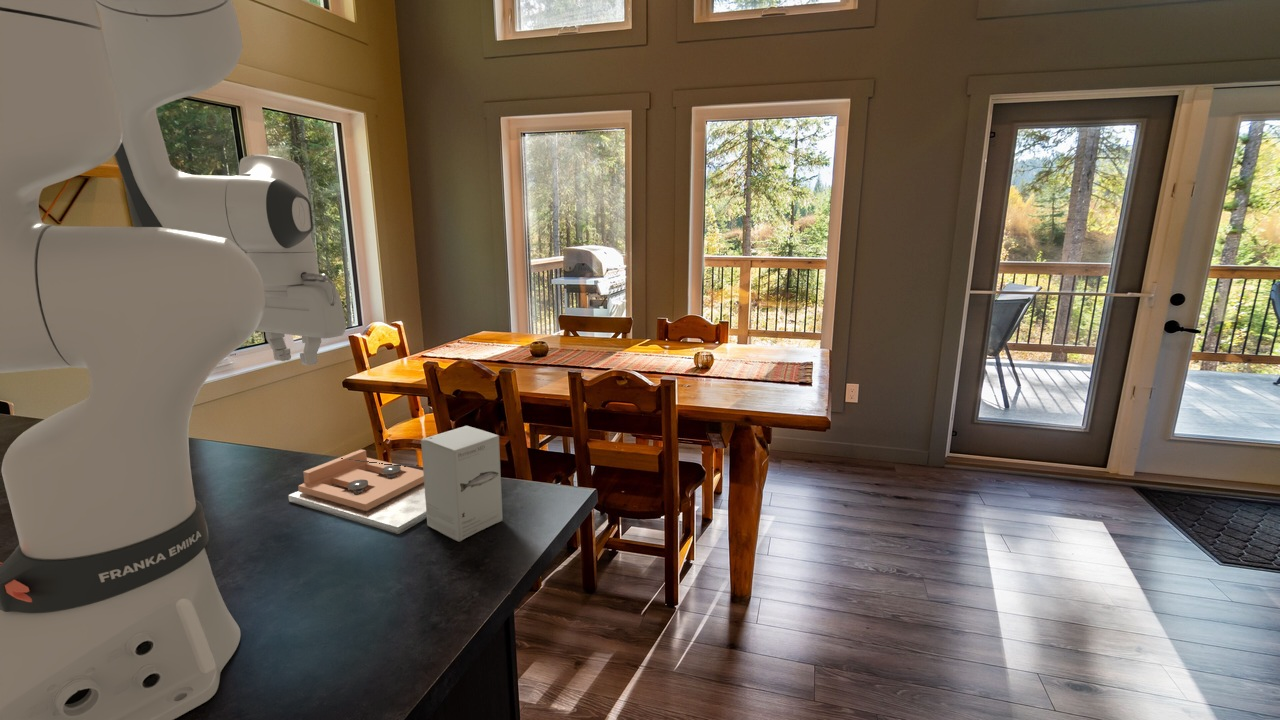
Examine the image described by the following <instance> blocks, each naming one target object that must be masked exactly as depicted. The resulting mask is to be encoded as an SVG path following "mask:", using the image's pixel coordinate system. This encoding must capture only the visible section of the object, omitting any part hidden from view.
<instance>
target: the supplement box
mask: <svg viewBox="0 0 1280 720" xmlns="http://www.w3.org/2000/svg"><path fill="white" fill-rule="evenodd" d="M420 443H421V444H420V445H421V457H422V458H421V459H422V470H423V473H424V487H425V500H426V513H427V518H426V525H427V526H428V527H429V528H431V529H433V530H435V531H437V532H439V533H440V534H443V536H446V537H448V538H450V539H452V540H454V541H456V542H459V543H460V542H462V541H464V540H465V539H466V538H468V537H471V536H473V535H475V534H476V533H478V532H481V531H483V530H485V529H486V528H489V527H491V526H493V525H495V524H498V523H500V522H503V519H504V518H503V517H504V516H503V499H502V498H503V497H502V495H503V494H502V493H503V492H502V477H501V474H502V473H501V456H500V455H501V453H500V435H499V434H495V433H492V432H489V431H486V430H484V429H480V428H476V427H472V426H469V425H464V426H461V427H457V428H454V429H451V430H447V431H444V432H441V433H438V434H433V435H431V436H428V437H423V438H422V439H420Z"/></svg>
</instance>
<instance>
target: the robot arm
mask: <svg viewBox="0 0 1280 720" xmlns="http://www.w3.org/2000/svg"><path fill="white" fill-rule="evenodd" d="M242 52H243V36H242V31H241V27H240V22H239V19H238V16H237V12H236V8H235V5H234V3H233V0H0V374H6V373H7V374H8V373H18V372H19V373H20V372H30V371H31V372H32V371H33V372H34V371H45V370H54V369H56V370H58V369H69V368H76V369H86V370H87V372H88V375H89V381H90V385H89V388H90V389H89V394H88V396H87V397H86V398H84V399H83V400H80V401H79V402H77V403H75V404H72V405H70V406H68V407H66V408H64V409H62V410H60V411H58V412H56V413H54V414H53V415H50V416H48V417H47V418H45V419H43V420H41V421H39V422H38V423H35V424H33V425H32V426H30V427H29V428H28V429H26V430H25V431H23V432H22V433H21V434H20V435H18V436H17V437H16V439H15V440H14V441H13V442H11V444H10V445H9V447H8V448H7V451H6V452H5V454H4V456H3V459H2V464H1V475H2V479H3V483H4V488H5V492H6V496H7V499H8V503H9V507H10V510H11V514H12V515H11V516H12V520H13V523H14V527H15V531H16V535H17V539H18V543H19V544H18V545H17V546H16V548H15V549H14V551H13V552H12V553H11V554H10V555H9V556H8V557H7V559H6V560H4V561H3V562H0V720H175V719H177V718H179V717H181V716H182V715H185V714H186V713H188V712H189V711H192V710H194V709H195V708H197V707H199V706H201V705H202V704H204V703H206V702H208V701H209V700H211V698H213V696H215V695H216V693H217V691H218V689H219V685H220V679H221V672H222V670H223V669H224V667H225V666H226V665H227V663H228V662H229V660H230V659H231V658H232V656H233V655H234V654H235V652H236V650H237V648H238V646H239V643H240V641H241V636H242V635H241V633H242V632H241V629H240V627H239V624H238V623H237V622H236V620H235V619H234V617H233V616H232V614H231V613H230V611H229V609H228V608H227V606H226V603H225V601H224V600H223V597H222V594H221V593H220V590H219V588H218V585H217V582H216V579H215V577H214V574H213V571H212V568H211V567H212V566H211V563H210V561H209V557H208V556H209V555H210V553H211V552H210V551H211V546H210V545H211V544H210V540H209V529H208V524H207V521H206V519H205V518H206V517H205V514H204V508H203V505H202V503H201V502H200V501H199V500H197V499H196V497H195V490H194V484H193V479H192V478H193V477H192V469H191V460H190V459H191V458H190V446H189V445H190V444H189V442H190V441H189V440H190V439H189V432H190V431H189V430H190V429H189V428H190V427H189V426H190V420H191V415H192V411H193V408H194V404H195V402H196V400H197V397H198V395H199V393H200V391H201V390H202V388H203V386H204V384H205V382H206V381H207V380H208V378H209V376H210V375H211V374H212V373H213V371H214V370H216V368H217V367H218V366H219V364H221V362H223V361H224V360H225V359H226V358H227V357H229V355H230V354H233V352H234V351H235V350H237V349H239V348H240V347H242V345H244V344H245V343H246V342H247V341H248V340H249V339H250V338H251V336H252V335H254V333H255V332H264V333H265V334H264V335H265V339H266V341H267V343H268V345H269V346H270V348H271V349H272V353H273V359H274V360H275V361H277V362H279V361H280V362H286V361H290V360H291V359H292V355H291V353H292V352H291V348H288V347H287V345H286V343H285V340H284V337H285V335H291V336H297V337H298V336H300V337H301V341H302V342H301V343H302V344H304V347H303V352H300V353H299V358H300V363H301V365H305V366H314V365H316V364H318V362H319V359H318V357H319V356H318V351H319V350H320V346H321V343H322V339H323V340H326V339H332V338H338V337H342V336H344V334H345V333H346V329H347V324H346V317H345V312H344V311H345V310H344V307H343V303H342V299H341V296H340V293H339V291H338V290H337V288H336V284H335V282H333V281H332V279H331V278H330V277H329V276H328V275H327V274H325V273H319V267H318V257H317V250H316V247H315V243H314V242H313V238H312V231H313V230H314V222H313V215H312V206H311V201H310V196H309V192H308V188H307V187H308V186H307V183H306V179H305V176H304V173H303V170H302V168H301V166H300V165H299V164H298V163H296V162H295V161H293V160H291V159H289V158H285V157H280V156H277V155H271V154H251V155H246V156H244V157H242V158H241V159H240V160H239V164H238V165H239V166H238V175H207V174H191V173H186V172H184V171H181V170H179V169H177V168H175V167H174V166H172V164H171V162H170V158H169V157H170V156H169V154H168V150H167V146H166V143H165V140H164V137H163V133H162V128H161V125H160V122H159V117H158V114H157V109H158V108H160V107H162V106H164V105H166V104H169V103H172V102H176V101H177V100H181V99H184V98H188V97H190V96H194V95H197V94H200V93H203V92H205V91H207V90H209V89H212V88H213V87H216V86H217V85H218V84H219V83H221V82H222V81H224V80H226V78H228V77H229V76H230V75H231V74H232V73H233V71H234V70H235V68H236V67H237V66H238V63H239V61H240V59H241V55H242ZM113 156H114V157H115V160H116V163H117V166H118V170H119V172H120V174H121V175H120V176H121V177H122V181H123V183H124V187H125V193H126V198H127V204H128V205H127V206H128V208H129V214H130V219H131V221H132V224H133V226H95V225H94V226H89V225H88V226H87V225H86V226H83V225H81V226H80V225H79V226H78V225H77V226H75V225H73V226H71V225H70V226H69V225H66V226H64V225H54V224H47V223H44V222H43V220H42V218H41V215H40V214H41V213H40V210H39V209H40V208H39V205H40V204H39V203H40V202H39V201H40V197H41V193H42V192H43V189H46V188H47V187H49V186H52V185H55V184H57V183H61V182H64V181H66V180H70V179H72V178H74V177H77V176H79V175H83V174H84V173H87V172H88V171H91V170H93V169H95V168H97V167H99V166H101V165H103V164H105V163H106V162H107V161H109V160H110V159H112V158H113Z"/></svg>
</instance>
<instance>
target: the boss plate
mask: <svg viewBox="0 0 1280 720" xmlns="http://www.w3.org/2000/svg"><path fill="white" fill-rule="evenodd" d="M364 471H368V472H372V473H376V474H379V477H383V478H387V479H393V478H395V477H398V476H399V475H397V474H398V473H400V472H401V467H400V466H394V465H390V466H386V467H384V468H383V469H382V472H383V474H382V473H378V472H374V471H370V470H364ZM330 486H333V487H337V488H341V489H345V492H346V493H350V494H353V495H359V494H361V493H363V492H366V491H367V490H364V489H365V488H367V487H368V481H367V480H363V479H361V480H355V481H352V482H350V483H349V484H348V488H346V487H342V486H339V485H335V484H331V485H330ZM287 497H288V501H289V503H292V504H296V505H299V506H304V507H305V508H309V509H314V510H317V511H320V512H323V513H326V514H329V515H334V516H337V517H340V518H343V519H346V520H350V521H353V522H355V523H360V524H363V525H366V526H369V527H373V528H377V529H380V530H382V531H387V532H390V533H393V534H396V535H400V534H402V533H403V532H405V531H406V530H408V529H410V528H412V527H414V526H416V525H418V523H420V522H422V521H424V520H425V519H426V520H427V513H426V500H425V487H424V482H423V483H421V484H419V485H417V486H415V487H413V488H411V489H409V490H407V491H405V492H403V493H401V494H399V495H397V496H395V497H393V498H391V499H389V500H387V501H385V502H383V503H381V504H379V505H377V506H375V507H373V508H371V509H369V510H367V511H364V510H361V509H357V508H354V507H350V506H347V505H343V504H340V503H336V502H333V501H329V500H326V499H322V498H319V497H315V496H312V495H308V494H305V493H301V492H299V490H298V491H294V492H292V493H290V494H288V495H287Z"/></svg>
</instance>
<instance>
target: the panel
mask: <svg viewBox="0 0 1280 720" xmlns="http://www.w3.org/2000/svg"><path fill="white" fill-rule="evenodd" d="M367 456H368V455H367V450H365V449H358V450H356V451H353V452H350V453H348V454H346V455H343V456H339V457H337V458H334V459H332V460H329V461H327V462H325V463H322V464H319V465H317V466H314V467H312V468H309V469H306V470H304V471H303V472H302V473H303V483H302V484H299V485H298V491H299V492H301V493H305V494H308V495H312V496H315V497H319V498H322V499H326V500H329V501H333V502H336V503H340V504H343V505H347V506H350V507H354V508H357V509H361V510H364V511H367V510H369V509H371V508H373V507H375V506H377V505H379V504H381V503H383V502H385V501H387V500H389V499H391V498H393V497H395V496H397V495H399V494H401V493H403V492H405V491H407V490H409V489H411V488H413V487H415V486H417V485H419V484H421V483H423V482H424V473H423V469H418V468H415V467H410V466H406V467H404V466H405V465H401V466H400V467H401V472H400V473H398V474H397V475H399V476H398V477H395V478H393V479H387V478H383V477H379V474H376V473H372V472H368V471H364V470H370V471H374V472H378V473H382V474H383V472H382V469H383V468H384V467H386V466H390V465H384V464H392V465H398V464H396V463H392V462H388V461H385V460H379V459H375V458H371V457H367ZM341 458H343V459H341ZM349 459H353V460H349ZM355 460H360V461H369V462H377V463H369V462H360V461H355ZM379 463H380V464H379ZM381 463H383V464H381ZM361 479H363V480H367V481H368V487H367V488H365V489H364V490H367V491H366V492H363V493H361V494H359V495H353V494H350V493H346V492H345V489H341V488H337V487H333V486H330V485H331V484H335V485H339V486H342V487H346V488H348V484H349V483H350V482H352V481H355V480H361Z"/></svg>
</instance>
